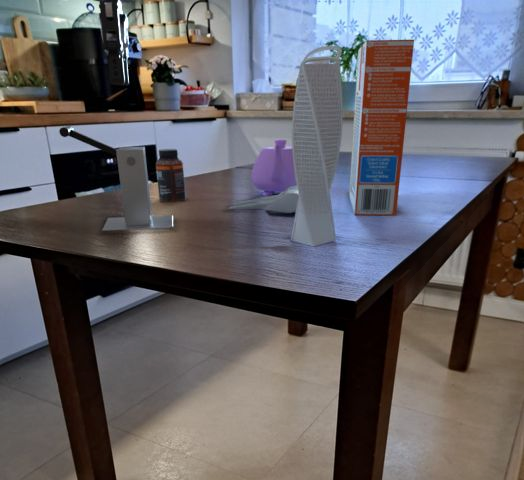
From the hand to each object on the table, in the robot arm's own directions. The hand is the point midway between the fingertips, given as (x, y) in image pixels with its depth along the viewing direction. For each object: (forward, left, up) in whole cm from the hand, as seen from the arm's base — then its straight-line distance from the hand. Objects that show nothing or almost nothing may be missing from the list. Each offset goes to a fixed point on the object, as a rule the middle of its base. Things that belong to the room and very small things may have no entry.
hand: (120, 84), depth 83 cm
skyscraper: (+30, -14, -24) cm, 40 cm away
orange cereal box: (+49, +14, -24) cm, 56 cm away
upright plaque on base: (+1, 0, -23) cm, 23 cm away
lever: (-5, 0, -10) cm, 11 cm away
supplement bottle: (+7, +25, -24) cm, 35 cm away
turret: (+28, +10, -24) cm, 38 cm away
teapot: (+33, +32, -24) cm, 51 cm away
